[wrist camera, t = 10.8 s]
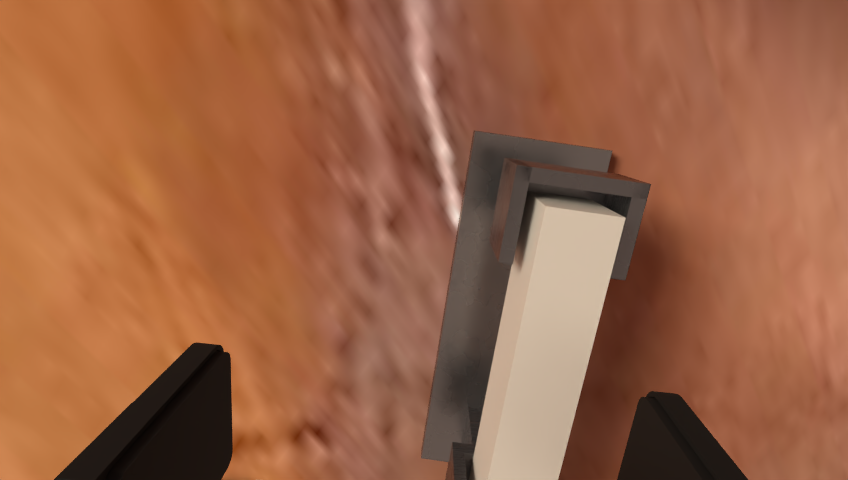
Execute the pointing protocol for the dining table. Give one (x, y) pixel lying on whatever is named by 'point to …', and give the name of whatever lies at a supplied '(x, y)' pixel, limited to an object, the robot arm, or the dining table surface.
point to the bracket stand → (505, 269)
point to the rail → (545, 336)
